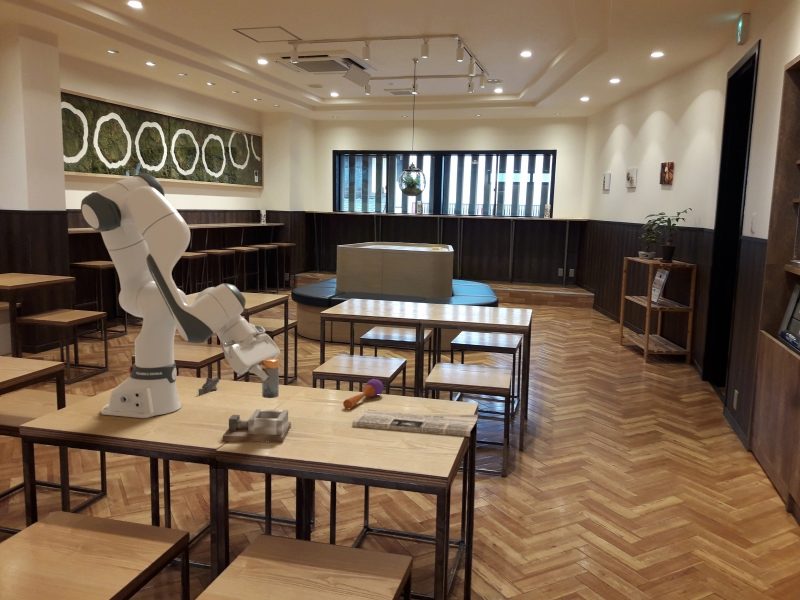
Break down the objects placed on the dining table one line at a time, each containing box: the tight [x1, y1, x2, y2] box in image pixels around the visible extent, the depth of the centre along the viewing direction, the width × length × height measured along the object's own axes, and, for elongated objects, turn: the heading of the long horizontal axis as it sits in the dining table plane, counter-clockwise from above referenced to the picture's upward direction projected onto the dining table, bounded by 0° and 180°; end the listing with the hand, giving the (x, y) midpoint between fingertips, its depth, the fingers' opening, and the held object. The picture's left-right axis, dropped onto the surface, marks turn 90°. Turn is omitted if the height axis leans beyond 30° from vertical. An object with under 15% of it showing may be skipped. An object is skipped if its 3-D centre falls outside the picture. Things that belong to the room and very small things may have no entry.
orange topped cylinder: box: [261, 358, 280, 399], centre depth 165 cm, size 4×4×10 cm
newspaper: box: [351, 409, 479, 438], centre depth 176 cm, size 35×12×4 cm, turn 79°
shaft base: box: [222, 408, 292, 443], centre depth 166 cm, size 16×12×6 cm
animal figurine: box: [198, 376, 220, 396], centre depth 206 cm, size 12×4×5 cm, turn 164°
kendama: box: [342, 378, 384, 410], centre depth 198 cm, size 6×6×20 cm
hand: (272, 376), depth 164 cm, fingers closed on orange topped cylinder, 4 cm apart
